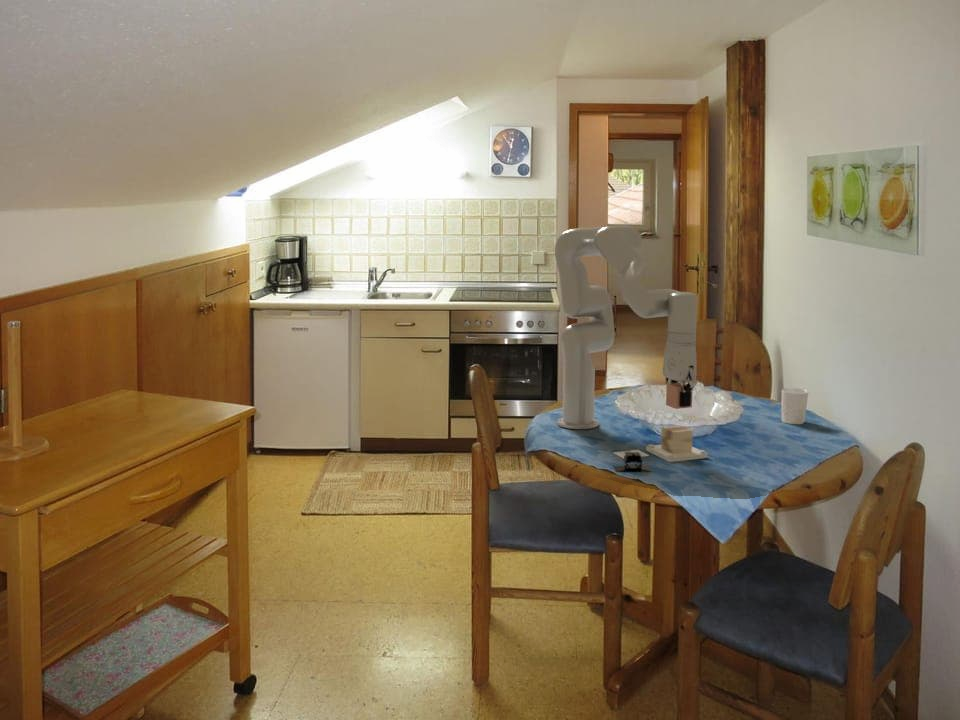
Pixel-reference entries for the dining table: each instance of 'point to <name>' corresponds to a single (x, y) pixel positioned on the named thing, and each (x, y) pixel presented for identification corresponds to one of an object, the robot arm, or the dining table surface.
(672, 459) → the plate
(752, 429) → the dining table surface
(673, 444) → the beech brick
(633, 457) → the dark stepped block
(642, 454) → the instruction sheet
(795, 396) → the white cup
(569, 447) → the dining table surface
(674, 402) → the terracotta brick
